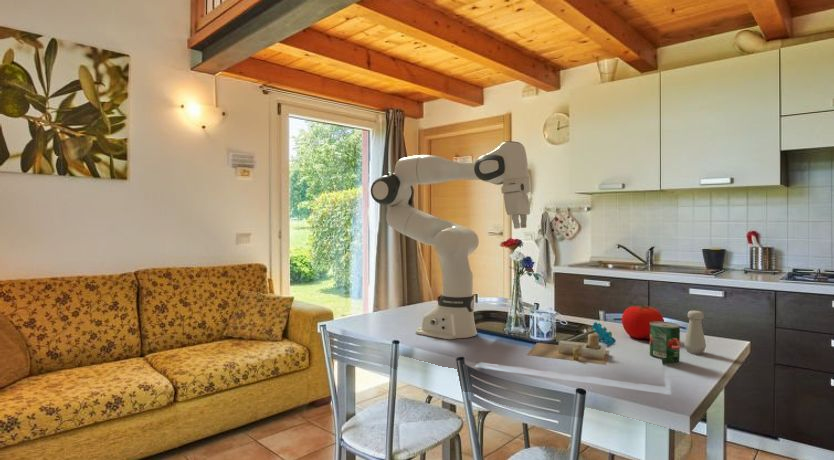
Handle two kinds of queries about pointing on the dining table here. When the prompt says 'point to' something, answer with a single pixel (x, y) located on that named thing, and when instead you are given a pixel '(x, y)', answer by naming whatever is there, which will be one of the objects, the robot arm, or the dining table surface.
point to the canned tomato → (665, 342)
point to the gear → (603, 334)
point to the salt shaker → (695, 333)
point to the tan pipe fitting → (582, 349)
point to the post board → (552, 352)
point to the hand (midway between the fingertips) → (520, 228)
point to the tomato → (640, 320)
